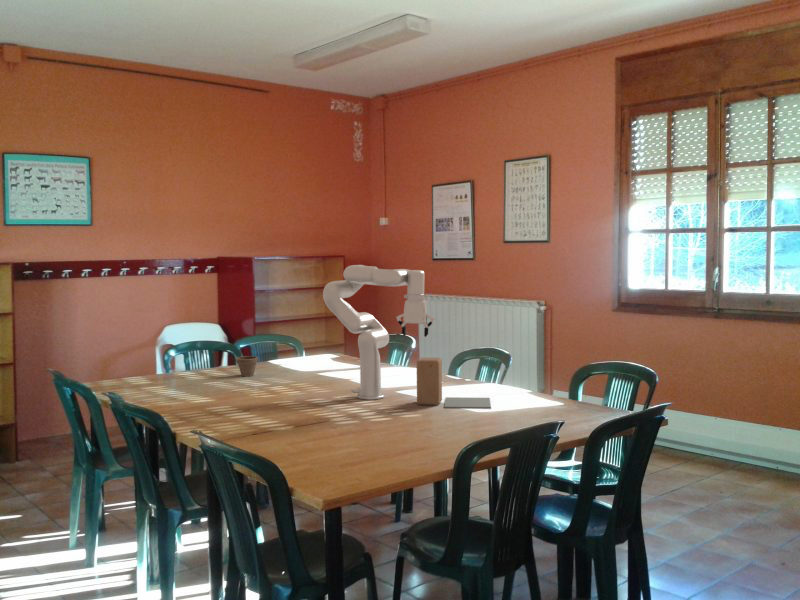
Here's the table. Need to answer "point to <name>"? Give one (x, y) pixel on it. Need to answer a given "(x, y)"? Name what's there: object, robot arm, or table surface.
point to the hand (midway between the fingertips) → (415, 335)
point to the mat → (467, 402)
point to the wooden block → (429, 381)
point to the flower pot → (247, 365)
